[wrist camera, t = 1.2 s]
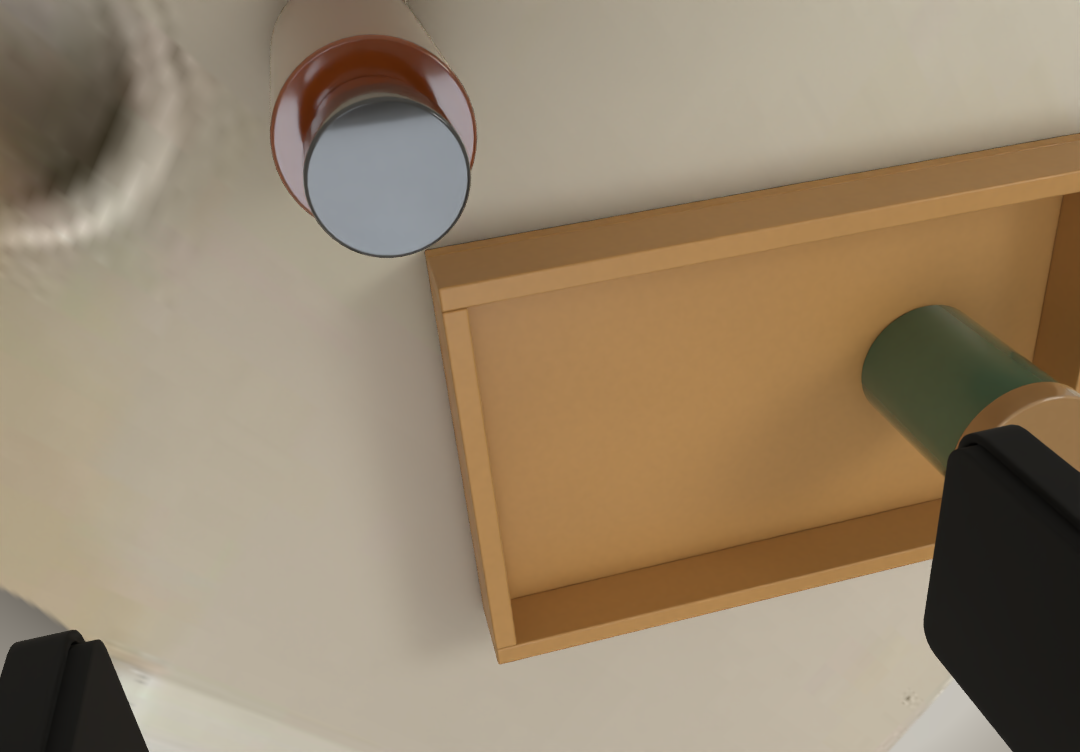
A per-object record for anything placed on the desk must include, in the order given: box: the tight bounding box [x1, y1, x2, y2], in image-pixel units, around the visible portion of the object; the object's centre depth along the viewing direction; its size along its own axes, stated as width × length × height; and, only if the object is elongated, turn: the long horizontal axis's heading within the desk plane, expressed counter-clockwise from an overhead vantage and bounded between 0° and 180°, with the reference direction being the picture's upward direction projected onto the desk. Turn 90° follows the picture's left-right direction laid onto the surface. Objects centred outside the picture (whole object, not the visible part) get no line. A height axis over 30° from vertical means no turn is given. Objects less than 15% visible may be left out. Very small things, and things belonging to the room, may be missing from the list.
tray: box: [425, 133, 1080, 664], centre depth 36 cm, size 16×24×3 cm, turn 95°
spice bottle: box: [270, 0, 477, 258], centre depth 24 cm, size 4×4×11 cm
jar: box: [861, 305, 1080, 478], centre depth 35 cm, size 5×5×7 cm
